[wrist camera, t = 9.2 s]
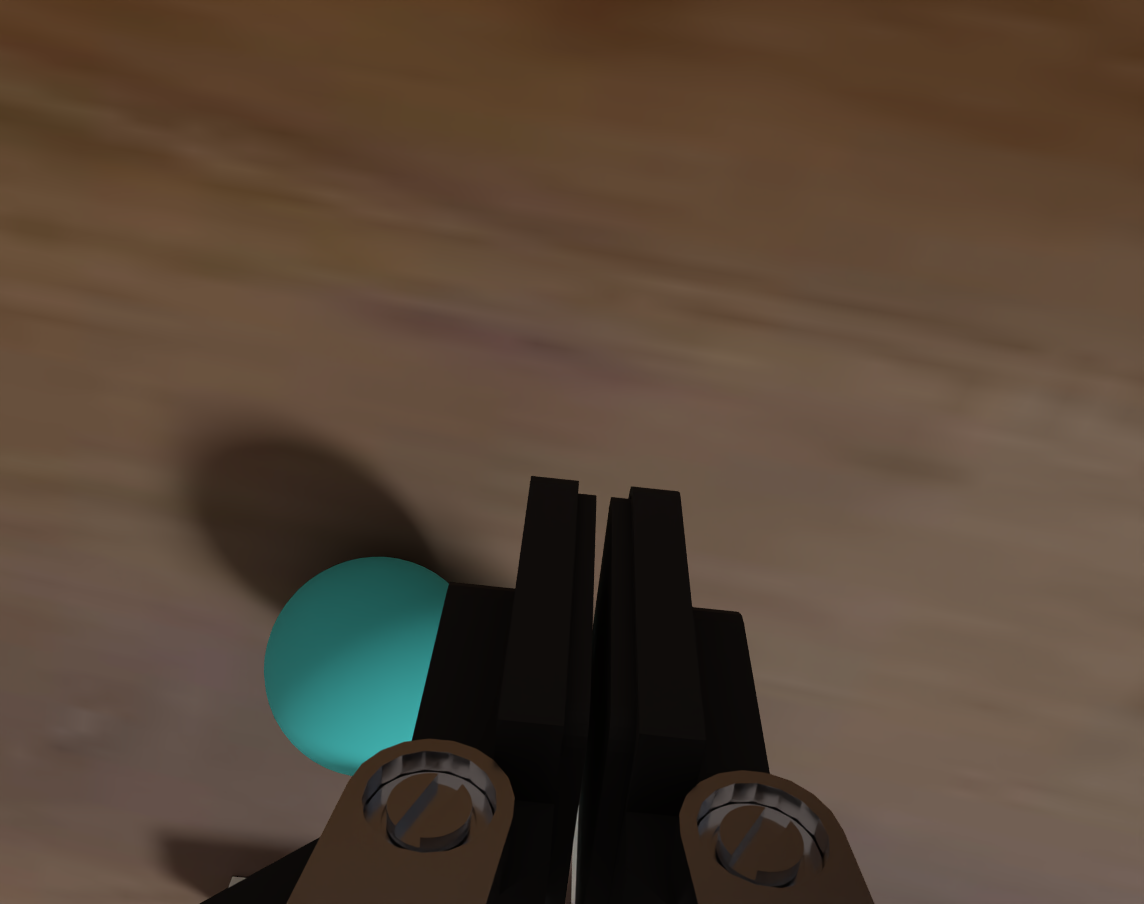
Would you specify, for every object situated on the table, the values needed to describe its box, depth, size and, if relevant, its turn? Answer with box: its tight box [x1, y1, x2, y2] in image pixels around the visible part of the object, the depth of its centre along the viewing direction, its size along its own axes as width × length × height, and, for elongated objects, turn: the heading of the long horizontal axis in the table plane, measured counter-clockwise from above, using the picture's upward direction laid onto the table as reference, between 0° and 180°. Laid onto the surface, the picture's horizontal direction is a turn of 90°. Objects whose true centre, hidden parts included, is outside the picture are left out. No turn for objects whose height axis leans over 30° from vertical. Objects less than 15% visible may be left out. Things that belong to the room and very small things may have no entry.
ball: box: [264, 557, 449, 776], centre depth 30 cm, size 6×6×6 cm
